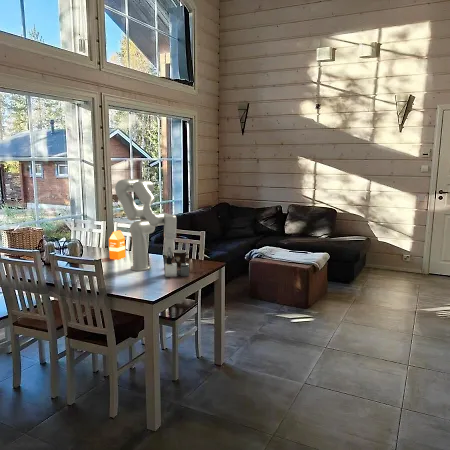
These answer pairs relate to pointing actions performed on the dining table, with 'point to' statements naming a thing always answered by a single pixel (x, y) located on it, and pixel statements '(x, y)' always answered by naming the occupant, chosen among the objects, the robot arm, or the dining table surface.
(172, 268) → the lock
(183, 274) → the coupler
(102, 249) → the dining table surface
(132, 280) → the dining table surface
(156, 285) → the dining table surface
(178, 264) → the coffee mug
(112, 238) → the orange juice
